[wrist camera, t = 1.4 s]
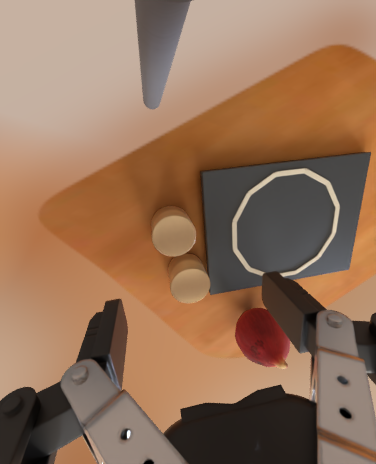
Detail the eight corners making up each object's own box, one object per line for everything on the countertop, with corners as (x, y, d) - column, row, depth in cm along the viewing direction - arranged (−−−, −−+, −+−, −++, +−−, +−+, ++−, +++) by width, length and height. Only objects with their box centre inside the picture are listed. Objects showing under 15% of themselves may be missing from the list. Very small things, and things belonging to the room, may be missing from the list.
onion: (236, 337, 31) (264, 398, 23) (219, 308, 29) (245, 364, 21) (275, 318, 31) (315, 372, 23) (261, 286, 28) (301, 336, 21)
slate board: (200, 171, 22) (202, 172, 21) (364, 152, 24) (372, 152, 24) (208, 291, 27) (210, 295, 27) (344, 266, 30) (350, 269, 29)
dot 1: (148, 208, 23) (148, 218, 20) (187, 203, 23) (194, 212, 20) (154, 244, 24) (155, 260, 21) (191, 239, 25) (197, 253, 21)
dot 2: (165, 256, 25) (168, 272, 22) (201, 250, 25) (209, 265, 22) (169, 286, 26) (173, 306, 23) (203, 281, 27) (211, 299, 24)
